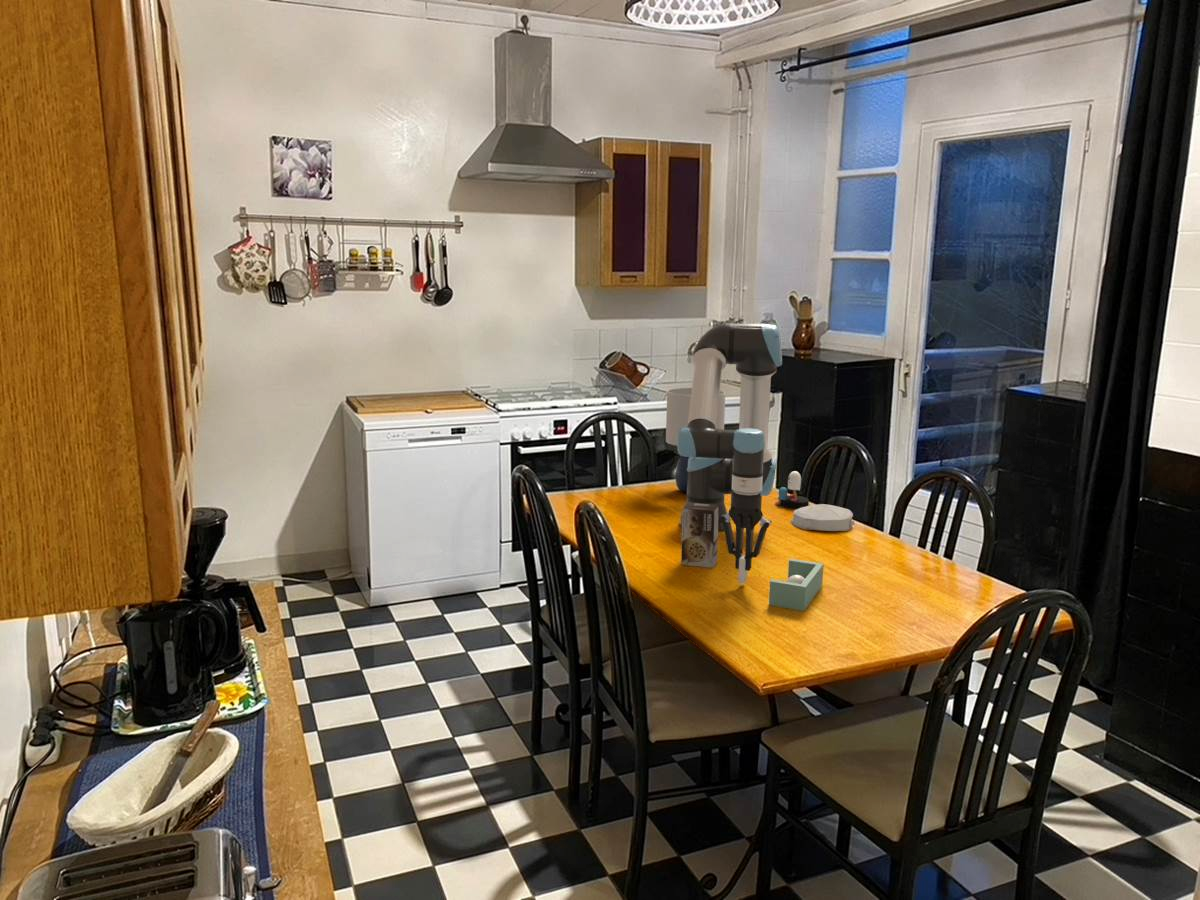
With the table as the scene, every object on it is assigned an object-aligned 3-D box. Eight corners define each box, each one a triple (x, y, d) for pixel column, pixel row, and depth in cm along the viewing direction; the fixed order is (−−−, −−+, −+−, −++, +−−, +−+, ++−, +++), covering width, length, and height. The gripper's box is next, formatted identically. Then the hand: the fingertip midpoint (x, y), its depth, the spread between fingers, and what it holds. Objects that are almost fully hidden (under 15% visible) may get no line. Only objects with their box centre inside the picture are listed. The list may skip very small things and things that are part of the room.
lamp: (661, 497, 314) (664, 392, 307) (667, 483, 334) (669, 385, 326) (720, 500, 311) (724, 394, 304) (722, 486, 331) (726, 387, 323)
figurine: (774, 501, 311) (776, 467, 309) (807, 502, 310) (809, 468, 307) (775, 508, 302) (777, 473, 300) (809, 510, 301) (811, 475, 298)
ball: (804, 575, 219) (807, 595, 219) (806, 572, 224) (809, 592, 224) (783, 577, 221) (786, 597, 221) (786, 574, 226) (789, 594, 225)
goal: (768, 605, 216) (770, 581, 215) (789, 580, 232) (790, 558, 231) (804, 611, 212) (805, 587, 211) (822, 586, 229) (823, 563, 228)
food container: (844, 538, 272) (846, 516, 270) (781, 526, 282) (783, 505, 280) (862, 523, 288) (865, 503, 287) (802, 512, 298) (804, 493, 297)
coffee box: (718, 561, 247) (720, 504, 244) (713, 568, 241) (715, 510, 238) (685, 557, 250) (687, 501, 247) (680, 564, 244) (681, 507, 241)
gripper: (716, 491, 223) (713, 582, 228) (768, 498, 217) (763, 590, 222) (726, 485, 229) (722, 573, 234) (776, 491, 224) (771, 581, 229)
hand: (742, 581), depth 228 cm, fingers closed
